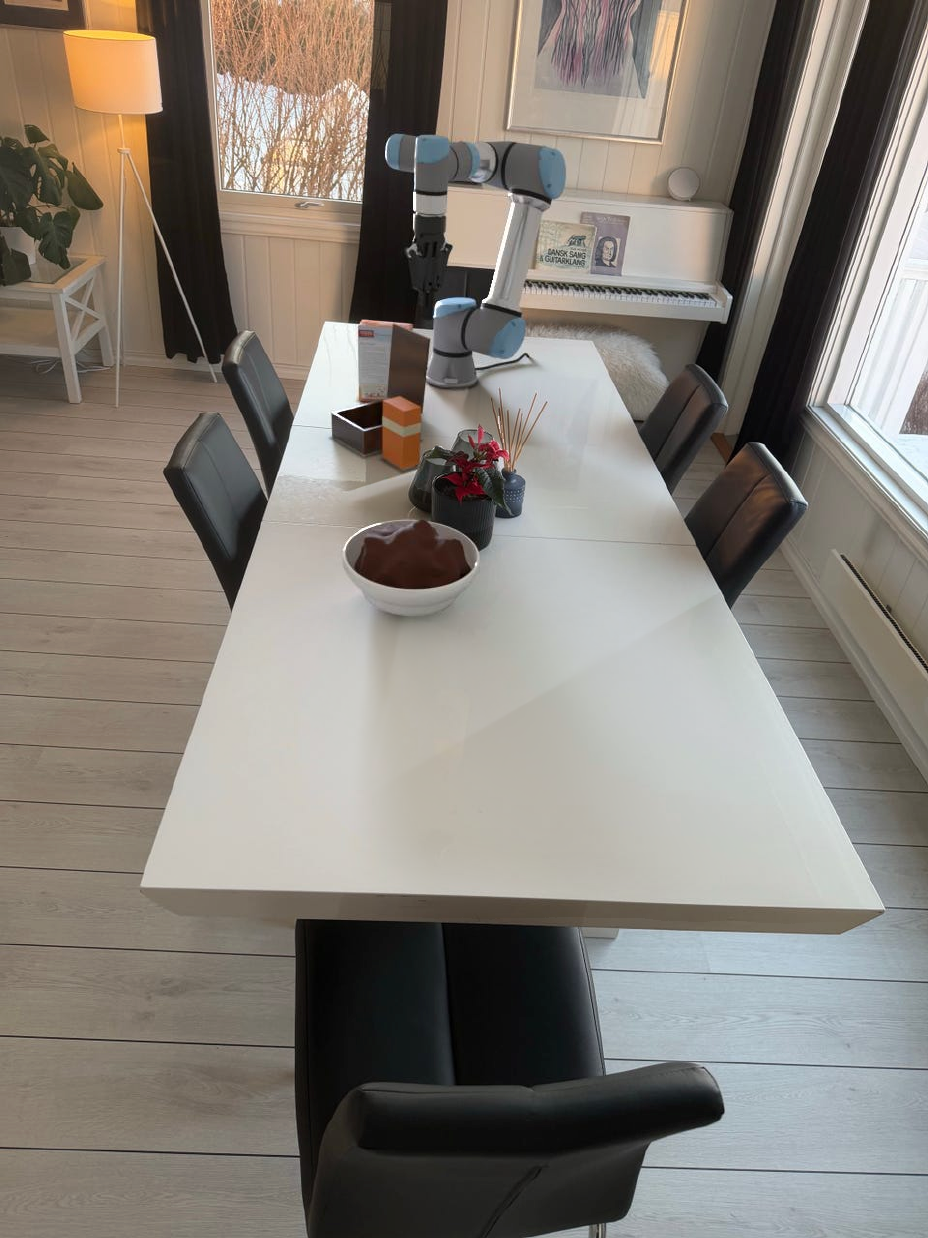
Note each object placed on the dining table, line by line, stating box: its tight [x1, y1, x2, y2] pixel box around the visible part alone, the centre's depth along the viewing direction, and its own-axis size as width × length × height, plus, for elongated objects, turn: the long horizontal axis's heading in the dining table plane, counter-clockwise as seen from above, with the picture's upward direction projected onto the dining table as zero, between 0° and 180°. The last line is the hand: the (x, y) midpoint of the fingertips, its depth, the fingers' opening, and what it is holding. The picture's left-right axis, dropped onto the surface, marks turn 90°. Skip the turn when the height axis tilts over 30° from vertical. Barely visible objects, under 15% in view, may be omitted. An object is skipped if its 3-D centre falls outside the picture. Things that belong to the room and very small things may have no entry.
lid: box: [387, 322, 431, 415], centre depth 210 cm, size 18×14×1 cm
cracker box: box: [357, 319, 414, 403], centre depth 230 cm, size 14×6×21 cm, turn 84°
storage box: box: [330, 399, 422, 456], centre depth 213 cm, size 18×14×7 cm
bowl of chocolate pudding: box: [341, 518, 482, 617], centre depth 154 cm, size 25×25×15 cm
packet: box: [381, 396, 422, 470], centre depth 200 cm, size 5×8×15 cm, turn 42°
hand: (426, 318), depth 207 cm, fingers closed
